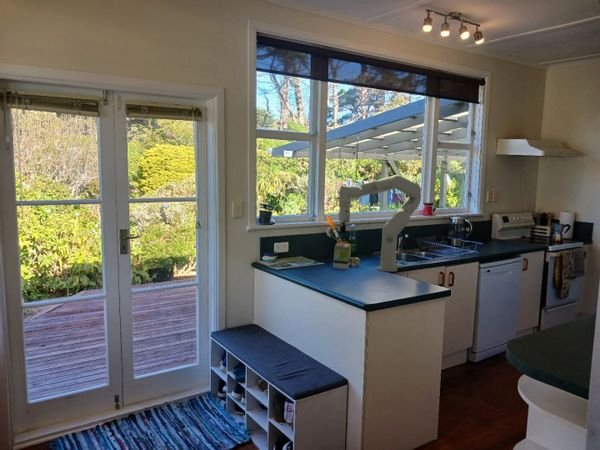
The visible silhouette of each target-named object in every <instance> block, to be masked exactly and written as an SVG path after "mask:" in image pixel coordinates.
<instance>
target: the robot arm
mask: <svg viewBox="0 0 600 450" xmlns="http://www.w3.org/2000/svg"><path fill="white" fill-rule="evenodd" d="M395 189H396V190H398V191H400V192H401V193H403V194H405V195H407V198H406V200H405V201H404V202H403V203H402V205H401V206H400V207H398V209H397V210H396V211H395V212H394V214H393V216H392V218H391V219H390V220H389V221H387V222H385V223H384V225H383V227H382V231H381V233H382V235H381V250H380V251H381V252H380V253H381V254H380V264H379V265H380V266H377V269H378V271H381V272H387V273H389V272H390V273H391V272H397V271H398V268H402V267H403V264H399V263H396V260H397V257H396V256H397V245H398V235H399V234H400V233H401V232H402V231H403V229H404V228H405V227H406V226H407V225H408V224H409V223H410V220H411V216H412V215H413V214H414V212H415V211H416V210H417V209H418V207H419V206H420V203H421V199H422V187H421V186H420V185H419V184H418V183H416V182H413V181H411V180H410V179H408V178H406V177H404V176H402V175H400V174H395V175H394V174H393V175H391V176H387V177H383V178H380V179H376V180H373V181H370V182H367V183H363V184H359V185H356V186H350V185H340V188H339V199H338V207H339V212H338V221H339V222H340V226H339V227H340V229H339V232H340V233H346V231H347V224H348V223H350V222H351V220H350V219H351V201H352V198H354V199H360V198H361V197H364V196H365V197H366V196H368V195H372V194H381V193H385V192H389V191H392V190H395Z"/></svg>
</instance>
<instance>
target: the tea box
mask: <svg viewBox="0 0 600 450" xmlns="http://www.w3.org/2000/svg"><path fill="white" fill-rule="evenodd" d="M351 252H352V244H351V243H344V242H341V243H340V242H337V243H336V244H335V245H334V249H333V260H332V261H333V262H332V263H333V264H332V268H333V269H341V270H348V269H349V267H350V266H351V265H350V258H351Z"/></svg>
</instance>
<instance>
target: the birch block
mask: <svg viewBox="0 0 600 450" xmlns="http://www.w3.org/2000/svg"><path fill="white" fill-rule="evenodd" d="M349 266H350V267H351V266H352V267H360V258H359V257H354V256H353V257H350V265H349Z"/></svg>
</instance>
